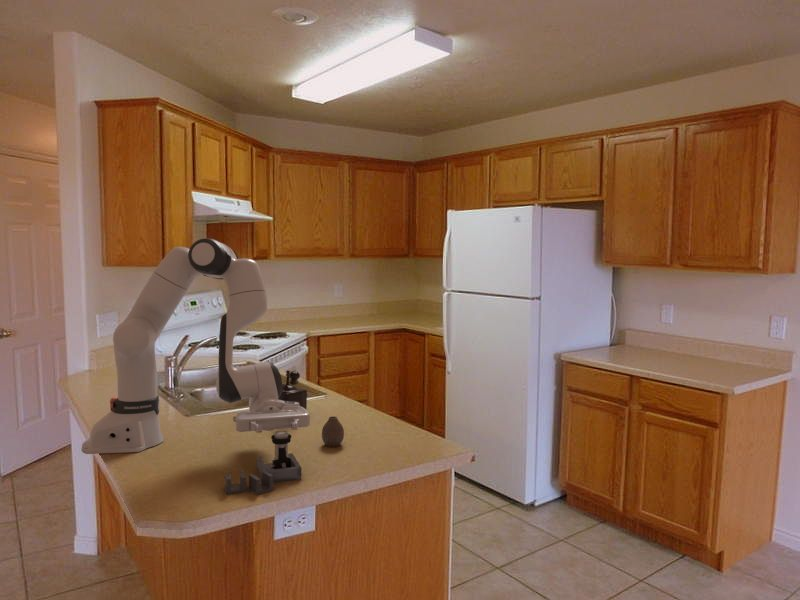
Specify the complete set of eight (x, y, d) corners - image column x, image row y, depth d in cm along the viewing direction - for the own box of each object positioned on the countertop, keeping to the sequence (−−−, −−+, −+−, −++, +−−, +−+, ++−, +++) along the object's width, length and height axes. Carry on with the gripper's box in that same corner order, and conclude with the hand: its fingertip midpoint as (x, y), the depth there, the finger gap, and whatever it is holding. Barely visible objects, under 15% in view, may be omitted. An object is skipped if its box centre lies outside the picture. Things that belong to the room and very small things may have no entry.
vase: (326, 449, 175) (326, 421, 174) (318, 443, 181) (318, 415, 180) (347, 446, 178) (347, 419, 177) (339, 440, 184) (339, 413, 183)
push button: (273, 475, 152) (273, 438, 151) (263, 469, 156) (263, 433, 155) (295, 469, 156) (295, 433, 155) (284, 463, 160) (284, 428, 159)
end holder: (263, 484, 148) (263, 472, 148) (257, 468, 159) (257, 457, 159) (301, 479, 152) (301, 467, 152) (292, 464, 162) (292, 453, 162)
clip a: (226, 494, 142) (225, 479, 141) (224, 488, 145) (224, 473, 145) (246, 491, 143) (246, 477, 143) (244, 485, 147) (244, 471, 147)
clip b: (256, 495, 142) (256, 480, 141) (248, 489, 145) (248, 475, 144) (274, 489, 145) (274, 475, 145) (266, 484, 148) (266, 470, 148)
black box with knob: (265, 415, 210) (265, 366, 209) (289, 409, 219) (289, 362, 217) (293, 423, 200) (293, 372, 199) (316, 417, 209) (317, 368, 207)
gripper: (232, 405, 162) (237, 419, 150) (303, 401, 170) (314, 414, 157) (231, 427, 163) (237, 443, 150) (303, 422, 170) (314, 436, 158)
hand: (277, 428), depth 154 cm, fingers open, 8 cm apart
